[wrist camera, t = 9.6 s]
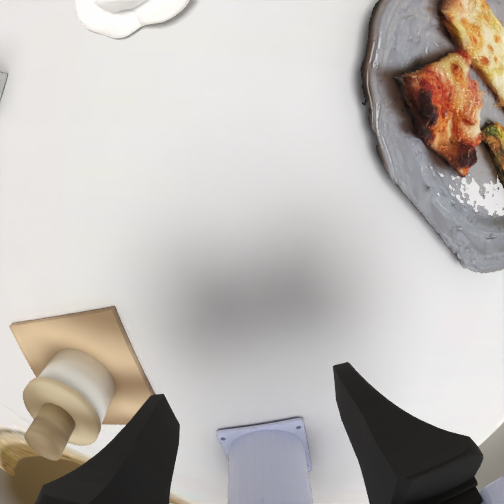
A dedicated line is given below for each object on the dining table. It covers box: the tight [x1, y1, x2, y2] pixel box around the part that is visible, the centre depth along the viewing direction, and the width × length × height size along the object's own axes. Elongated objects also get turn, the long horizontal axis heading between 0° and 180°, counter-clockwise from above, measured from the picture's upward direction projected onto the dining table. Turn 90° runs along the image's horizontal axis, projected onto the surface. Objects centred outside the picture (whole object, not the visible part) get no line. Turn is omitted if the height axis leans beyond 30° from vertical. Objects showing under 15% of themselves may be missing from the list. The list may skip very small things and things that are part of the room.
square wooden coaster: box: [9, 306, 155, 424], centre depth 24 cm, size 12×12×1 cm
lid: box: [23, 377, 101, 460], centre depth 18 cm, size 7×7×4 cm
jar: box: [38, 348, 116, 424], centre depth 22 cm, size 6×6×4 cm
